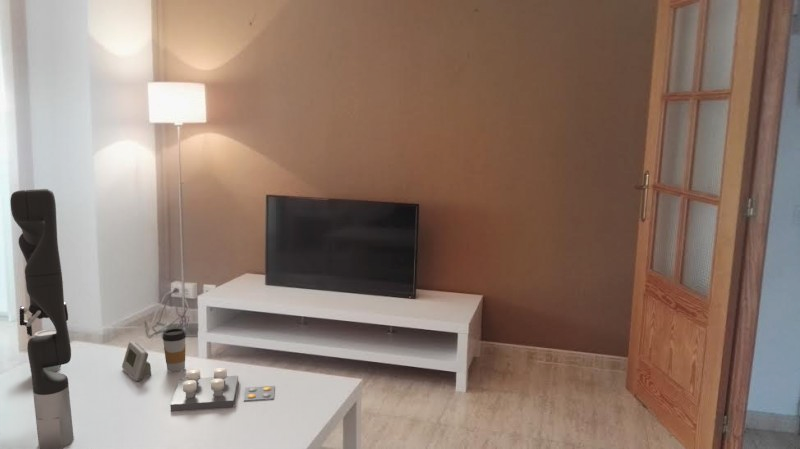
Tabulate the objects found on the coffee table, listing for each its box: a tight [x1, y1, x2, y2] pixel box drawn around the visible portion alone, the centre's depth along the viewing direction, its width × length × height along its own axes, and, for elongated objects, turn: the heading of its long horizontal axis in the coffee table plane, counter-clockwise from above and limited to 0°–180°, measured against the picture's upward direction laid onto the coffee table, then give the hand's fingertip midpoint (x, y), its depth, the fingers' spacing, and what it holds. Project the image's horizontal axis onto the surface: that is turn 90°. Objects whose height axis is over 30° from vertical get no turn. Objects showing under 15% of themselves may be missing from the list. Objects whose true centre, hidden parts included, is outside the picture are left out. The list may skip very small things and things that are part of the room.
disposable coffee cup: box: [32, 328, 62, 373], centre depth 244 cm, size 11×11×15 cm
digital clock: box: [121, 340, 152, 382], centre depth 241 cm, size 16×9×11 cm, turn 28°
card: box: [243, 385, 275, 402], centre depth 226 cm, size 10×10×1 cm
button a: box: [183, 380, 197, 398], centre depth 218 cm, size 4×4×5 cm
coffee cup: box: [162, 327, 187, 374], centre depth 245 cm, size 8×8×15 cm
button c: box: [186, 369, 201, 386], centre depth 227 cm, size 4×4×5 cm
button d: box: [213, 367, 228, 384], centre depth 228 cm, size 4×4×5 cm
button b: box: [211, 379, 224, 396], centre depth 220 cm, size 4×4×5 cm
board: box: [169, 375, 239, 412], centre depth 224 cm, size 20×20×2 cm
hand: (45, 333), depth 220 cm, fingers open, 8 cm apart
